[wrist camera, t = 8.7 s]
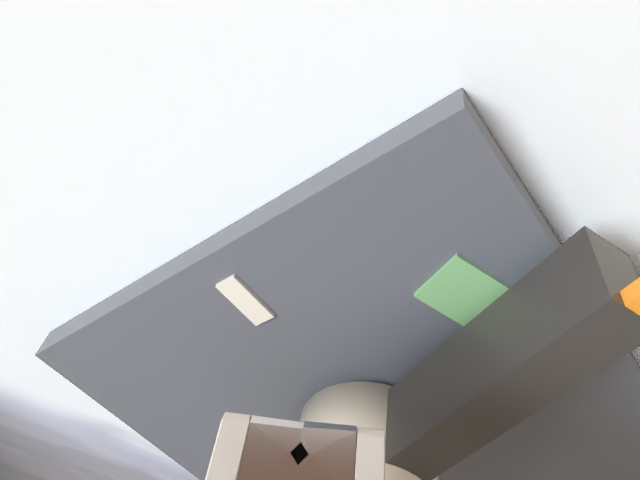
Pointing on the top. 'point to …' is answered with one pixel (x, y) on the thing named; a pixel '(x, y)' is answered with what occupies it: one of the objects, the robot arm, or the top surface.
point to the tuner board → (347, 307)
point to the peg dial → (499, 362)
